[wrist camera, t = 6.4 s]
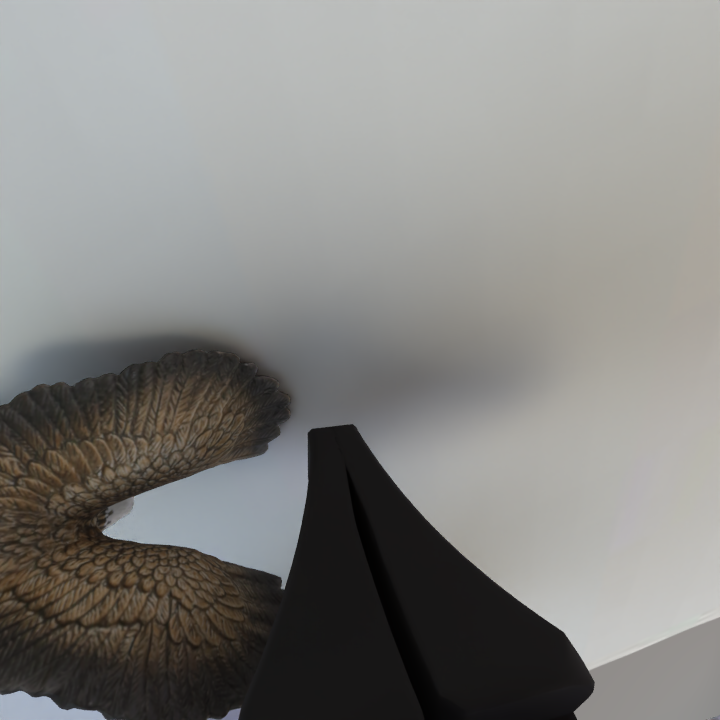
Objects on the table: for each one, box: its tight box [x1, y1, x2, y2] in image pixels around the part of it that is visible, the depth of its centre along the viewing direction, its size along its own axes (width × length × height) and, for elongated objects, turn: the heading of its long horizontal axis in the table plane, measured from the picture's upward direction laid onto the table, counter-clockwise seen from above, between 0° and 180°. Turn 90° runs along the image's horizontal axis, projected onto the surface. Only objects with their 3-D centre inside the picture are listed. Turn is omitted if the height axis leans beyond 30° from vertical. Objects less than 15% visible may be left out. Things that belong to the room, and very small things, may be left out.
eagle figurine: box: [0, 349, 291, 720], centre depth 10 cm, size 8×7×9 cm
